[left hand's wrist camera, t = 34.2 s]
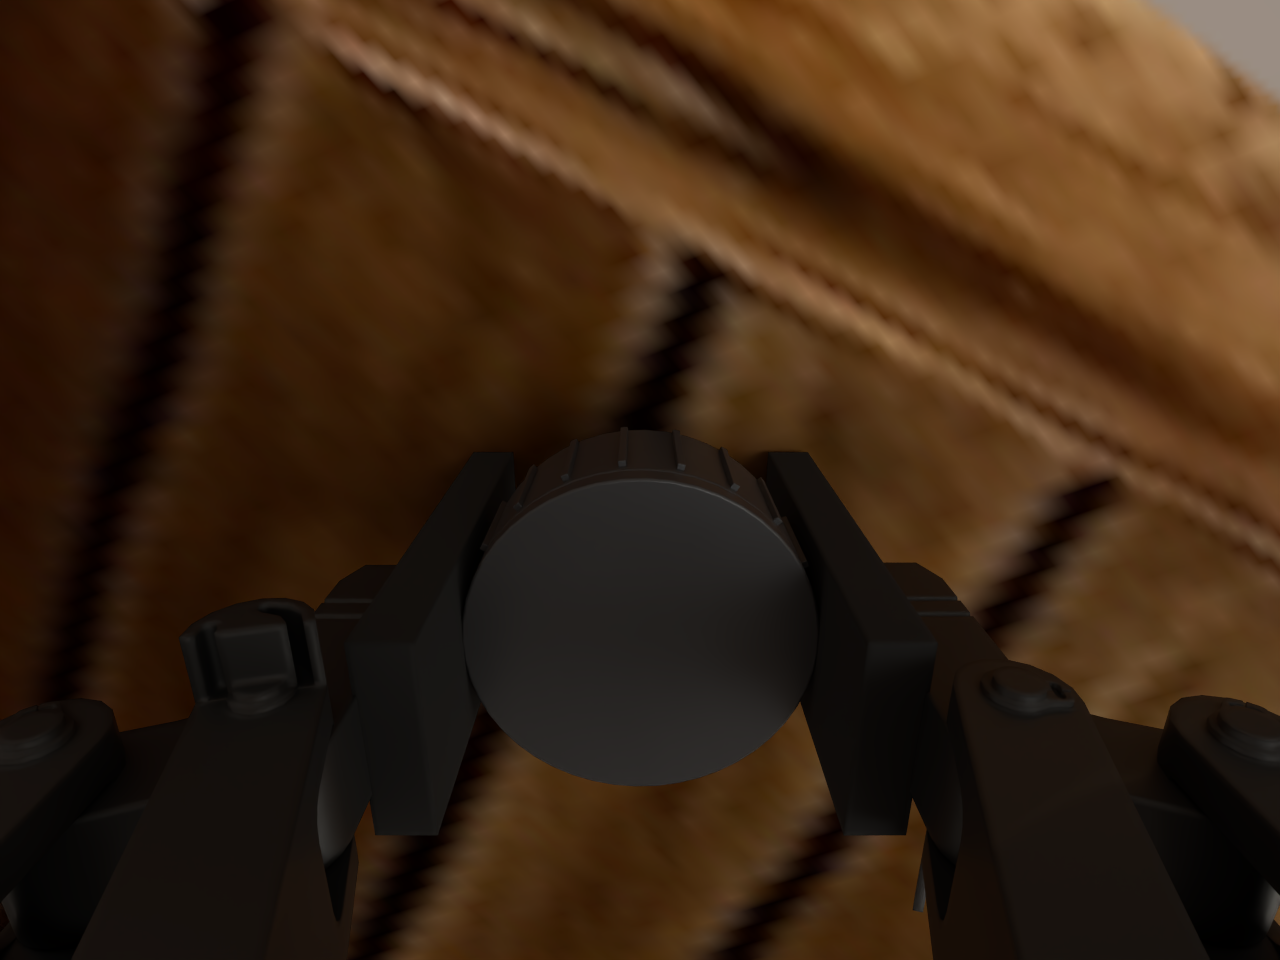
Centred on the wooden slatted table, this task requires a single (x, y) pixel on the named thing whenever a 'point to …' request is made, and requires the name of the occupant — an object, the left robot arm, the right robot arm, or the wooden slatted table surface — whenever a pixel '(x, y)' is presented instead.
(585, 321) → the wooden slatted table surface
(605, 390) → the wooden slatted table surface
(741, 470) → the lid
